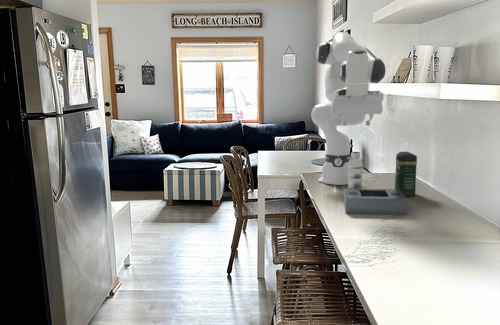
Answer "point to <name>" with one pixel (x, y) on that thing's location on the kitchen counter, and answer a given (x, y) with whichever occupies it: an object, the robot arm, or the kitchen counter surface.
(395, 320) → the kitchen counter surface
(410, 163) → the coffee jar
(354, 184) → the silver bottle
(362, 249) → the kitchen counter surface
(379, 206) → the grey slotted block
